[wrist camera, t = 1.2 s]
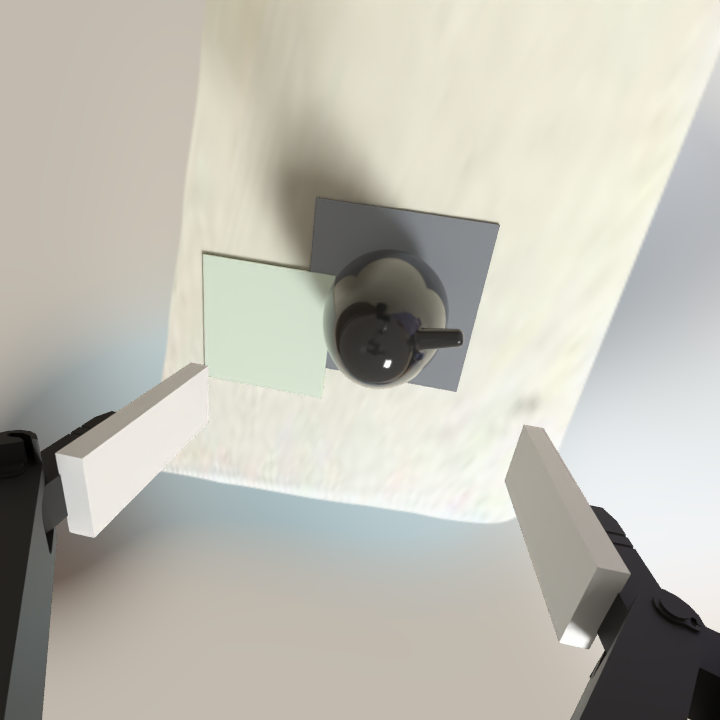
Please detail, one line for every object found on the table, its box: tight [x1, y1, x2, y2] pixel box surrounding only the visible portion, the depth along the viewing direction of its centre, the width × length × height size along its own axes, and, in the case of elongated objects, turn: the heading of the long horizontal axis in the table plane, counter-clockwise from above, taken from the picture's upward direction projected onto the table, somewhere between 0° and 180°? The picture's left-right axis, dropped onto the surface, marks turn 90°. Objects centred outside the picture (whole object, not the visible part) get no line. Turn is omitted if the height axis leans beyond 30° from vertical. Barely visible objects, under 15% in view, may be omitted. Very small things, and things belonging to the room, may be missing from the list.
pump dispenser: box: [323, 249, 464, 389], centre depth 29 cm, size 10×10×15 cm
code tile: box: [310, 197, 500, 392], centre depth 36 cm, size 16×16×1 cm
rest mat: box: [203, 254, 336, 399], centre depth 39 cm, size 13×13×1 cm
